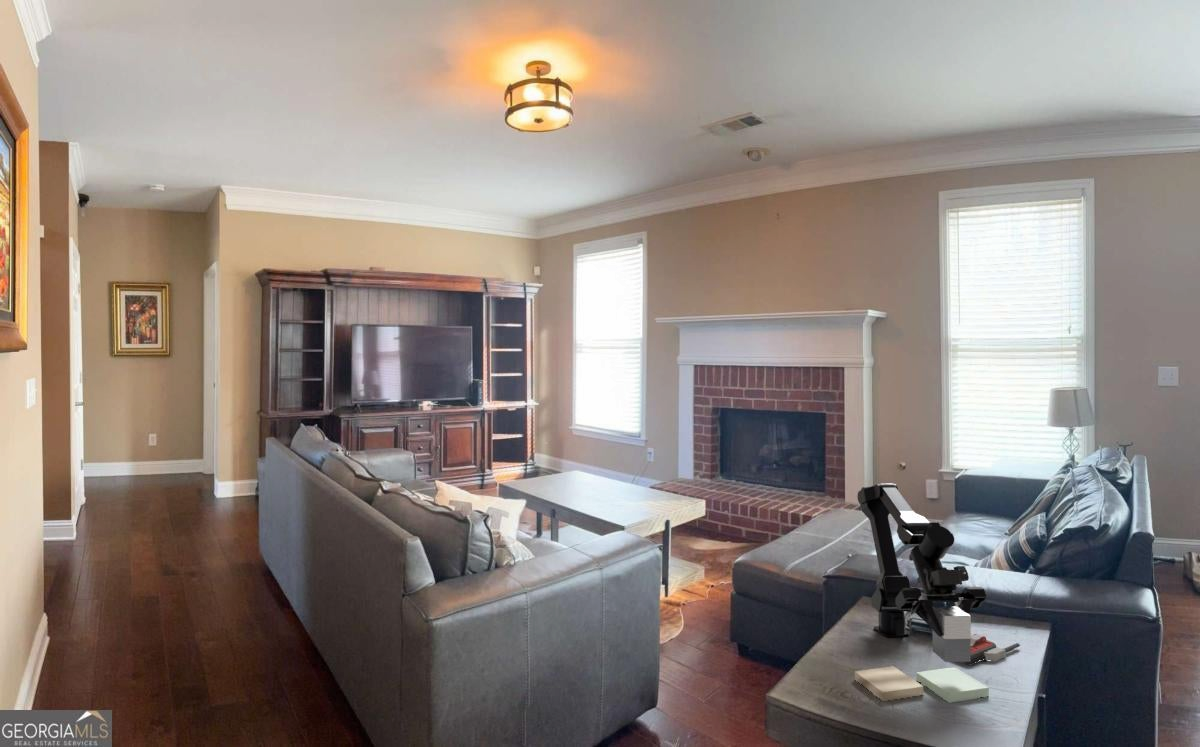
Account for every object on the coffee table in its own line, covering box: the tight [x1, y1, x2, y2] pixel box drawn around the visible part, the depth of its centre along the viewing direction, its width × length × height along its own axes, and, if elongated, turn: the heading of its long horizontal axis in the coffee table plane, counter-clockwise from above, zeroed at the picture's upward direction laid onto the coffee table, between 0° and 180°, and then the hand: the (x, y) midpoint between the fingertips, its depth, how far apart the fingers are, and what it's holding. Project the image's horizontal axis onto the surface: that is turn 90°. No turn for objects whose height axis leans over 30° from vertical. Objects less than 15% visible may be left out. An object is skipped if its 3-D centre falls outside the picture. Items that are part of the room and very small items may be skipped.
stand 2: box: [915, 666, 990, 704], centre depth 150 cm, size 10×10×2 cm
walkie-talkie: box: [964, 633, 1021, 665], centre depth 167 cm, size 9×4×20 cm
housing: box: [932, 605, 972, 663], centre depth 150 cm, size 6×6×10 cm
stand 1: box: [854, 665, 924, 702], centre depth 151 cm, size 10×10×2 cm
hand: (954, 635), depth 148 cm, fingers closed on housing, 5 cm apart
